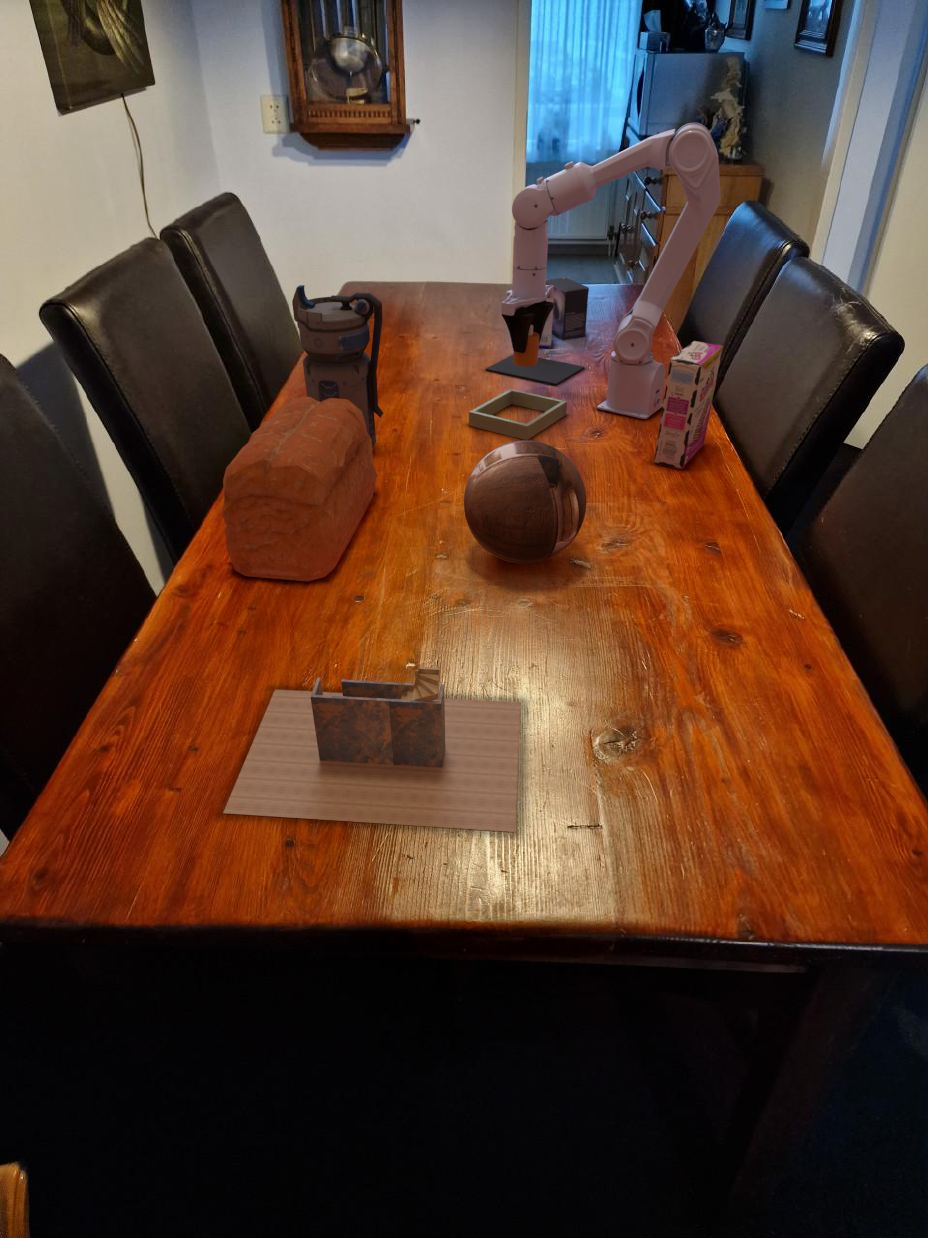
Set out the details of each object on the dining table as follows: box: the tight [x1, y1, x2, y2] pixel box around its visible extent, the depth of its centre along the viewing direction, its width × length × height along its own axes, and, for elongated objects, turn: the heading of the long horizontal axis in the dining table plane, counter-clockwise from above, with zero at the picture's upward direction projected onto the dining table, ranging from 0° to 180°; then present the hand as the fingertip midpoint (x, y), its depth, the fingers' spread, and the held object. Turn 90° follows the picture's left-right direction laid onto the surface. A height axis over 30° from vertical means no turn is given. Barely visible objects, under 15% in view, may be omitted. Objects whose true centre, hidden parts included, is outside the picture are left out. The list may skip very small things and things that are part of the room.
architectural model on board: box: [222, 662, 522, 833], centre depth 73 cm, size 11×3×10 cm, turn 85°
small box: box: [546, 276, 590, 340], centre depth 182 cm, size 11×6×10 cm, turn 25°
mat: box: [485, 354, 586, 386], centre depth 164 cm, size 16×12×1 cm
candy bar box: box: [653, 340, 724, 470], centre depth 125 cm, size 11×5×16 cm, turn 149°
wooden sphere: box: [463, 440, 587, 565], centre depth 100 cm, size 15×15×15 cm
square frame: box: [468, 388, 568, 441], centre depth 141 cm, size 12×14×2 cm
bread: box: [221, 396, 378, 582], centre depth 106 cm, size 14×27×15 cm, turn 171°
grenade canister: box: [291, 284, 384, 450], centre depth 124 cm, size 10×13×25 cm
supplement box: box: [539, 292, 554, 349], centre depth 174 cm, size 6×6×12 cm
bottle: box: [513, 325, 540, 367], centre depth 144 cm, size 4×4×6 cm
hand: (526, 347), depth 145 cm, fingers closed on bottle, 4 cm apart
